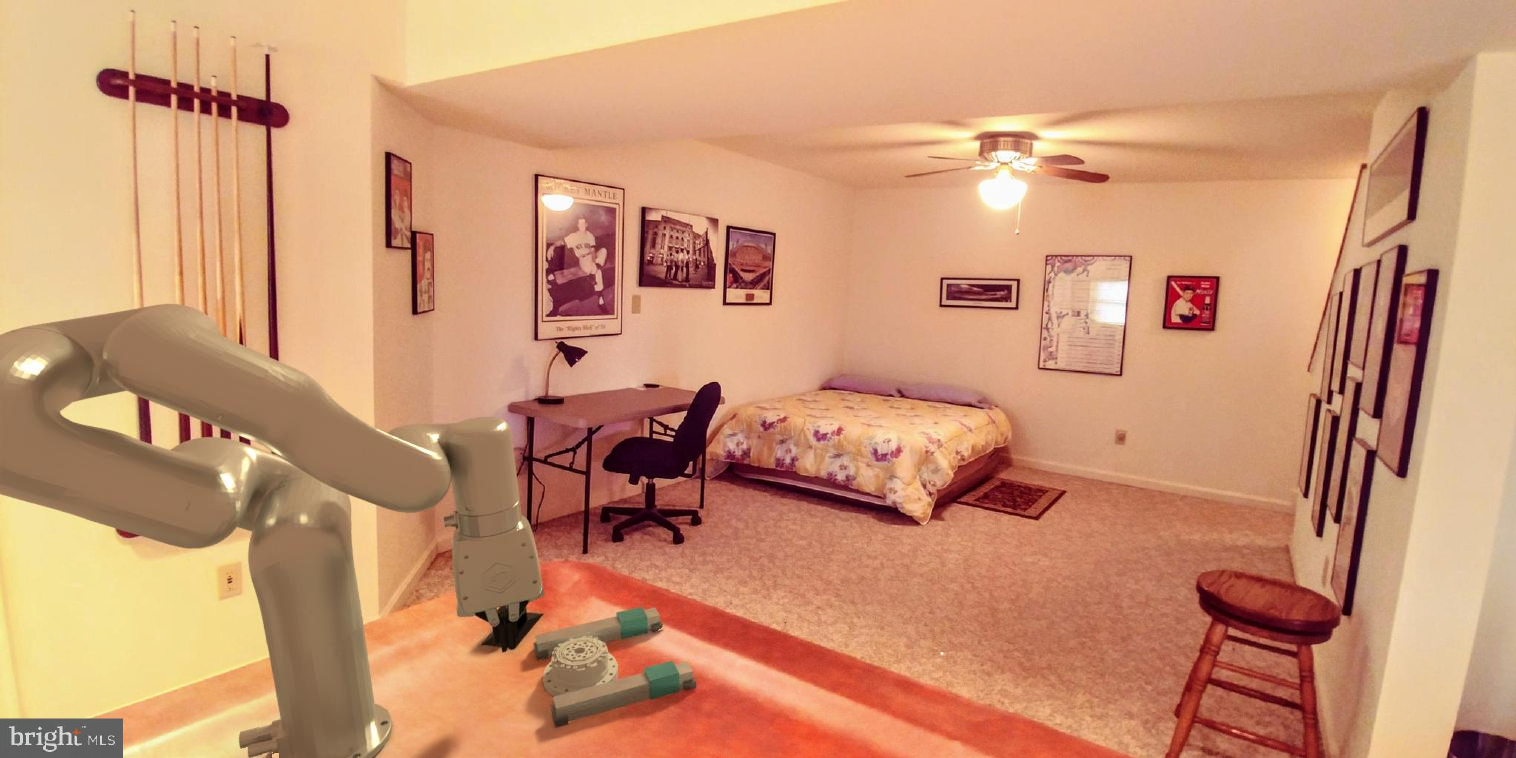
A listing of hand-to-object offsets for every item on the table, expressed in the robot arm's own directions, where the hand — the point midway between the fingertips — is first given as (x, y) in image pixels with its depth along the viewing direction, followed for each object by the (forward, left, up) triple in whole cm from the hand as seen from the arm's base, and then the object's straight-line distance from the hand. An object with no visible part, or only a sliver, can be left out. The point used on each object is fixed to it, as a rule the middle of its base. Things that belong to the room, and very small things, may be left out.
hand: (507, 645), depth 96 cm
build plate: (+2, +16, -8) cm, 18 cm away
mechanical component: (+9, 0, -8) cm, 12 cm away
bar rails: (+13, 0, -7) cm, 15 cm away
